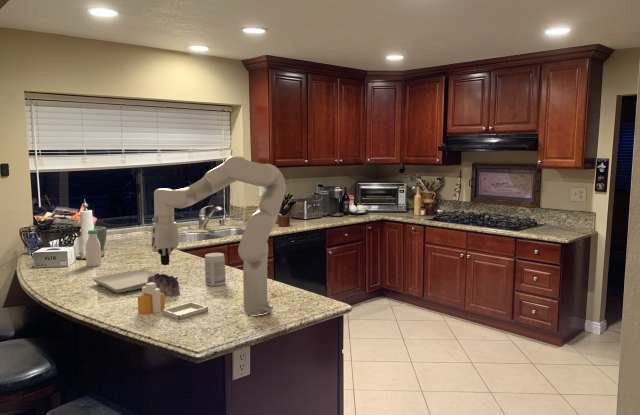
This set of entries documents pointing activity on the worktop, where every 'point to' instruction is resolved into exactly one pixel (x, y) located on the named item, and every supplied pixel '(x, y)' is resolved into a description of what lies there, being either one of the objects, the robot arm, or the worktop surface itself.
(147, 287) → the beige blocky piece
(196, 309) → the tray
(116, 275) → the square plate
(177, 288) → the geode
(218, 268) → the supplement tub
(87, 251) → the milk bottle
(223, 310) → the worktop surface
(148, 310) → the orange block
